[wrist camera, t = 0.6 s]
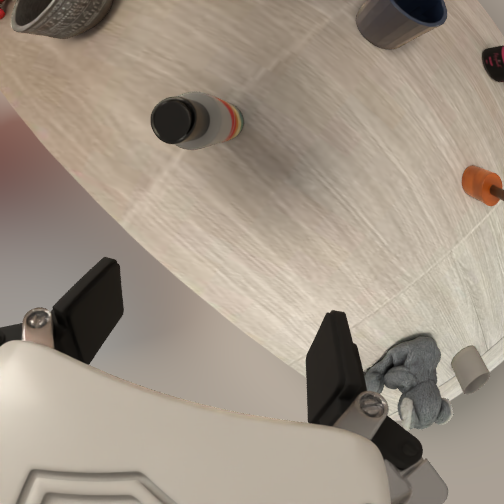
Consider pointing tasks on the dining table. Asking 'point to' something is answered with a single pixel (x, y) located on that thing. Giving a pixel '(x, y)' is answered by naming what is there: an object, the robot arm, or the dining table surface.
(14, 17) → the planter
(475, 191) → the plunger
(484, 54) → the beverage can
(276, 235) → the dining table surface
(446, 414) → the koala plush
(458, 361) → the cup
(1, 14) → the brown multicoloured lumpy piece
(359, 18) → the tumbler
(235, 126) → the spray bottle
